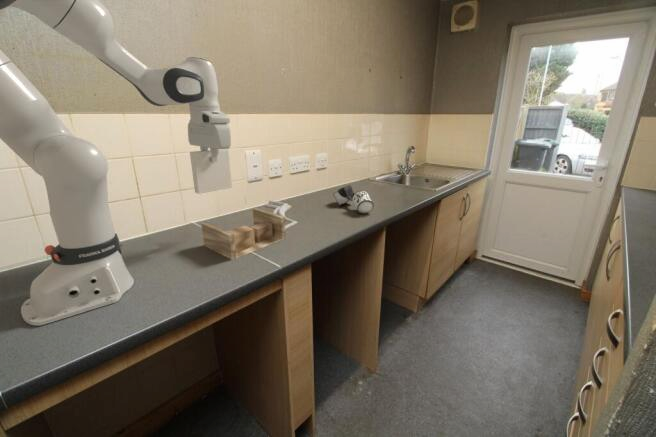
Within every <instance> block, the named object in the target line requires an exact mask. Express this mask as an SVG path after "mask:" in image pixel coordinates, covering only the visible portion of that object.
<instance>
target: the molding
mask: <svg viewBox="0 0 656 437" xmlns="http://www.w3.org/2000/svg"><path fill="white" fill-rule="evenodd" d="M265 206H266V208H269V209H274V210H273V211H272V213H274V214H278V215H281V216H284V217H285V222H288V224H285V230H286V229H288V228H290V227H292V226H294V225H296V224H298V221H296V220H293V219H291V218H288V217H286V215H285V213H286V212H287V211H288V210H289V209H291V208H292V205H290V204H288V203H286V202H281V201H277V200H275V201H274V200H268V204H265Z"/></svg>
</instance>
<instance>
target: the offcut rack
mask: <svg viewBox="0 0 656 437" xmlns="http://www.w3.org/2000/svg"><path fill="white" fill-rule="evenodd" d="M252 217H253V219H252V220H253V224H252V225H250V226H253V225H256V224H259V223H262V222H267V223H270V224H272V230H273V237H272V238H270V239H267V240H265V241H262V242H260V243H257V242H255V246H253V247H251V248H248V249H245V250H243V251H240V252H238V253H236V251H235V241H234V234H233V233H230V232H228V231H229V230H225V229H223V228H221V227H219V226H215V225H213V224H211V223H208V222H206V221H205V222H201V223H200V224H201V225H200V226H201V232H202V239H203V244H204V247H206V248H208V249H210V250H211V251H214V252H215V253H218V254H220V255H221V256H224V257H226V258H228V259H230V260H232V261H233V260H235V259H238V258H240V257H243V256H245V255H247V254H250V253H253V252H255V251H257V250H259V249H263V248H265V247H268V246H271V245H272V244H274V243H277V242H279V241H282V240H285V239H286V238H287V235H286V229H285V226H286V220H285V217H286V216H285V217H284V216H281V215H278V214H274V213H273V212H271V211H267V210H264V209H261V208H257V207H254V208H252ZM250 226H248V227H250Z"/></svg>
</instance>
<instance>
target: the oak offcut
mask: <svg viewBox="0 0 656 437" xmlns="http://www.w3.org/2000/svg"><path fill="white" fill-rule="evenodd" d="M227 231H228V232H230V233H233V234H234V241H235V251H236V253H238V252H240V251H243V250H245V249H248V248H251V247H253V246H255V236H254V229H253V228H250V227H249V226H248V225H242V226H239V227H235V228H232V229H230V230H227Z"/></svg>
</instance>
